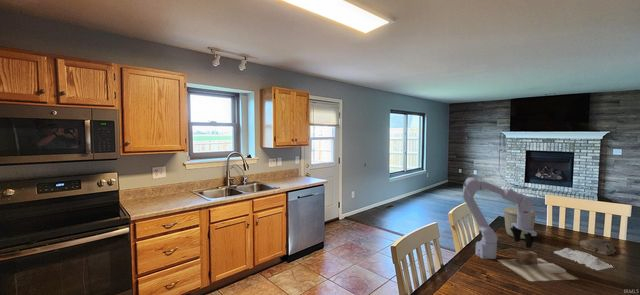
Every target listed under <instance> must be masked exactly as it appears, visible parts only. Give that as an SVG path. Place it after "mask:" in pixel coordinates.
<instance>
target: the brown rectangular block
mask: <svg viewBox="0 0 640 295" xmlns="http://www.w3.org/2000/svg"><path fill="white" fill-rule="evenodd" d="M537 258H538V252H537V253H536V252H535V251H533V250H517V251H516V259H517V261H518V262H520V263H521V264H533V263H537Z"/></svg>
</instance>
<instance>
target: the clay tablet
mask: <svg viewBox="0 0 640 295" xmlns="http://www.w3.org/2000/svg"><path fill="white" fill-rule="evenodd" d="M579 241H580V242H579V245H580V248H582V249H584V250H586V251H588V250H589V251H588V252H592V251H593V252H592V253H596V252H597V253H596V254H600V255H603V256H606V255H608V256H611V255H610V254H612V255H614V254H615V253H616V252H617V250H616V248H615V245H614V244H613V243H612V241H611V240H607V239H603V238H598V237H590V238H588V239H583V240H582V239H581V240H579Z"/></svg>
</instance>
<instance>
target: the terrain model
mask: <svg viewBox="0 0 640 295" xmlns="http://www.w3.org/2000/svg"><path fill="white" fill-rule="evenodd" d="M553 254H556V255H558V256H560V257H563V258H566V259H567V260H571V261H573V260H574V262H576V261H577V262H578V264H579V265H580V264H581V265H585V267H587V268H589V267H590V269H592V270H594V269H595V271H601V270H605V269H606V270H607V269H610V268H611V269H613V268H614V267H613V266H614V265H613V264H610V265H609V263H607V262H605V261H603V260H601V259H599V257H596V256H595V255H592V254H590V253H588V252H584V251H580V250H573V249H571V248H568V247H565V248H563V249H560V250H555V251H553ZM577 262H576V263H577ZM612 265H613V266H612Z"/></svg>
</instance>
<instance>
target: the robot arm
mask: <svg viewBox="0 0 640 295" xmlns="http://www.w3.org/2000/svg"><path fill="white" fill-rule="evenodd" d="M463 182H464V183H463V187H462V188H463V190H462V198H463V200H464V201H465V203H466V205H467V207H468V209H469V211H470V212H471V214H472V216H473V217H474V219H475V221H476V223H477V224H478V226H479V228H480V233H481V235H482V236H481V240H480V241H476V242H475V255H476V256H477V257H479V258H481V259H482V260H484V259H490V260H494V259H497V252H498V251H497V250H498V249H497V248H498V246H497V245H498V240H499V237H498V235H497V234H496V233H495V231H494V229H493V228H492V227H491V226H490V225H489V223H488V221H487V220H486V218H485V215H484V214H483V213H482V211H481V209H480V207H479V206H478V204H477V202H476V200H475V199H474V196H475V194H476V193H477V192H478V191H479V190H480V191H483V190H487V191H489V192H492V193H495V194H498V195H500V197H502V199H503V200H505V201H509V202H510V203H513V204H516V205H517V204H518V209H517V223H511V226H512V227H513V228H510V229H511V231H512V233H513V236H514V237H513V239H514V242H515V243H519V242H521V239H520V236H521V232H522V231H524V232H526V233H528V234H524V237H525V239H524V240H525V248H527V249H531V248H532V247H533V243H534V242H535V240H536V239H537V237H538V232H537V231H535V230H534V229H533V230H532V227H530V224H531V210H532V208H533V206H534V202H533V200H532V199H531V198H530V197H529V196H527V195H525V194H523V193H521V192H520V193H519V192H517V191H514V189H513V188H505V189H503V188H501V187H499V186H496V185H494V184H492V183H490V182H487V181H485V180H482V179H479V178H477V179H476V178H475V177H472V176H470V177H467V178H466V179H465V181H463Z"/></svg>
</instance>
